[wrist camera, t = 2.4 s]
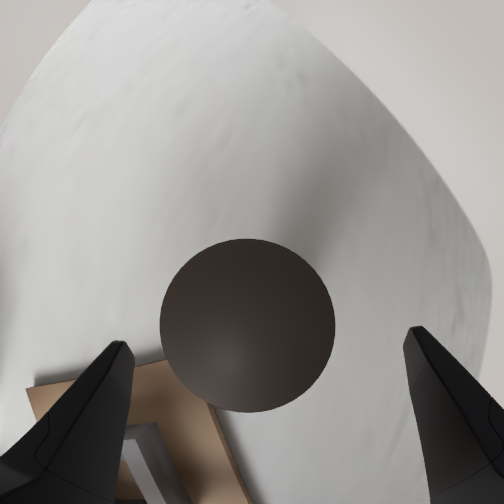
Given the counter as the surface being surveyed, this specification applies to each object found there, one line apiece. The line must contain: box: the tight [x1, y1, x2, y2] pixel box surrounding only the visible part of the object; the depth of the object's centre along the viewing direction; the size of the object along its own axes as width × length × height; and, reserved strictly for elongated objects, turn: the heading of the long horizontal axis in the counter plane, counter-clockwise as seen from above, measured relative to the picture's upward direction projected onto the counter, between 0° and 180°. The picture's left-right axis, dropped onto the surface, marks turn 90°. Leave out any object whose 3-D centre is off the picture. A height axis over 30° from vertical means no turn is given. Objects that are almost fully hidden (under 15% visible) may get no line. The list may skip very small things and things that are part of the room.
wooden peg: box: [160, 239, 335, 413], centre depth 12 cm, size 3×3×13 cm
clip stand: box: [26, 359, 253, 504], centre depth 15 cm, size 14×14×4 cm
